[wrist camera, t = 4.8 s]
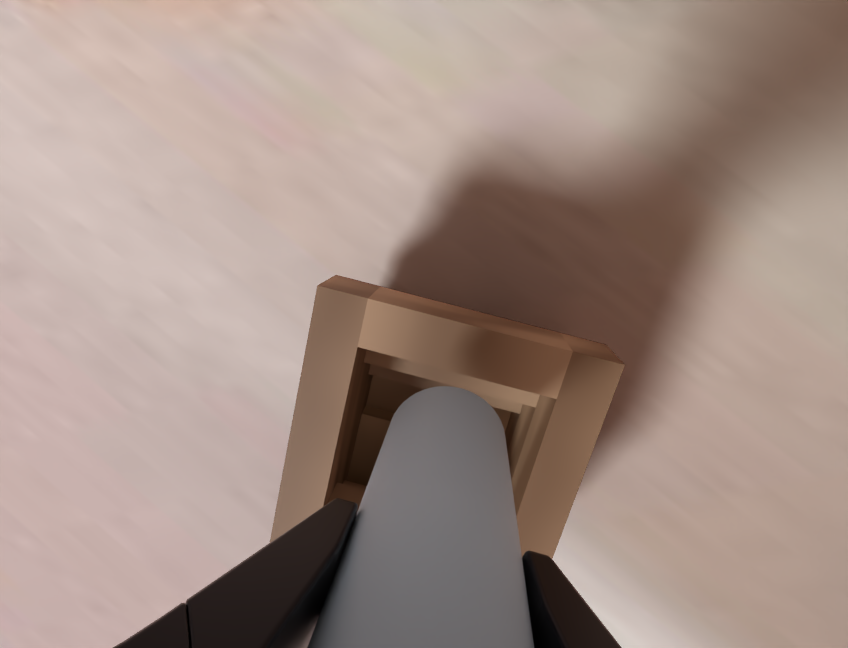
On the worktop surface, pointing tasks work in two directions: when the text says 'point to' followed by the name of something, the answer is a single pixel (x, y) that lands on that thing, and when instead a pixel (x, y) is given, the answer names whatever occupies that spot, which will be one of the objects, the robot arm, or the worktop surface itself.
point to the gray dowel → (433, 537)
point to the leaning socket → (431, 367)
